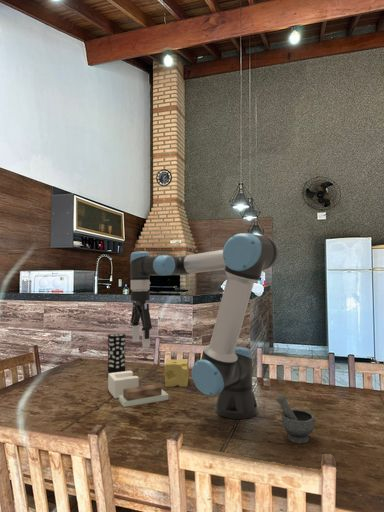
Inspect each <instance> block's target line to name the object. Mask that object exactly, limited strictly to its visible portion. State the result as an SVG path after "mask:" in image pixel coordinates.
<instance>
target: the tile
mask: <svg viewBox="0 0 384 512" xmlns="http://www.w3.org/2000/svg"><path fill="white" fill-rule="evenodd" d="M162 390H163V387H162V386H161V385H159V384H157V383H153V384H148V385H141V386H140V385H139V387H134V388H128V389H123V397H124V398H125V399H126V400H127V401H130V400H136V399H141V398H147V397H153V396H158V395H162Z"/></svg>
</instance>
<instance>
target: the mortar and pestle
mask: <svg viewBox="0 0 384 512" xmlns="http://www.w3.org/2000/svg"><path fill="white" fill-rule="evenodd" d="M276 400H277V403H278V404H279V405H280V408H281V409H282V412H281V421H282V426H283V429H284V430H285V432H286V433H287V440H289V441H291V442H292V443H295V444H297V443H298V444H305V443H308V442H309V441H310V437H309V435H310V434H311V433H312V432H313V431H314V430H315V423H316V421H315V419H316V418H315V415H314V414H313V413H311V412H308V411H307V410H304V409H303V410H302V409H292V407H291V405H290V404H289V403H288V401H287V399H286V395H281V396H279V397H277V399H276Z"/></svg>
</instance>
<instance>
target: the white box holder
mask: <svg viewBox="0 0 384 512" xmlns="http://www.w3.org/2000/svg"><path fill="white" fill-rule="evenodd" d="M107 379H108V380H107V381H108V382H107V388H108V389H107V390H108V391H109V393H110V394H111V396H112V397H113V398H114V399H119V396H120V395H123V389H128V388H134V387H140V385H139V384H140V383H139V379H140V378H139V376H138V375H134V372H133V371H132V370H125V371H123V372H115V373H108V372H107Z"/></svg>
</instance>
